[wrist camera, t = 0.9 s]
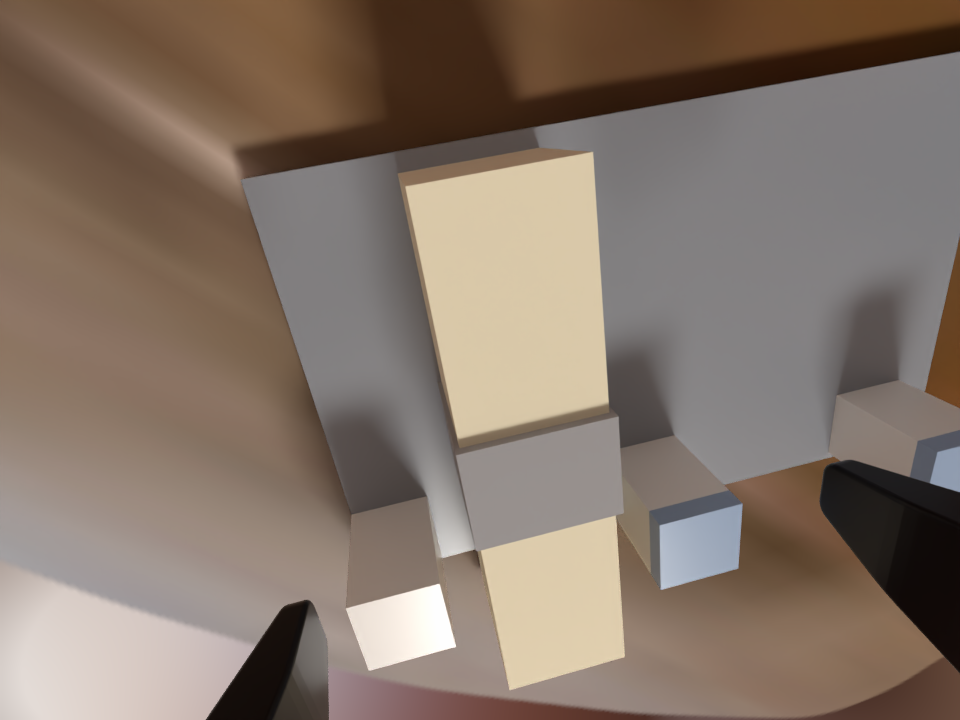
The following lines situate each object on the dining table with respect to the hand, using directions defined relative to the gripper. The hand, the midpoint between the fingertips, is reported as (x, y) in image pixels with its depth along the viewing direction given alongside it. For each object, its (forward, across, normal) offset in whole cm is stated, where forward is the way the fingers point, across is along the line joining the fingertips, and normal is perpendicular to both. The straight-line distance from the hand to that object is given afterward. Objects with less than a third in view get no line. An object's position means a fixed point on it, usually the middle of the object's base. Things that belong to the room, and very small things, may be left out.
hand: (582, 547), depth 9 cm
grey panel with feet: (+6, -4, -1) cm, 7 cm away
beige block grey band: (+5, 0, 0) cm, 5 cm away
